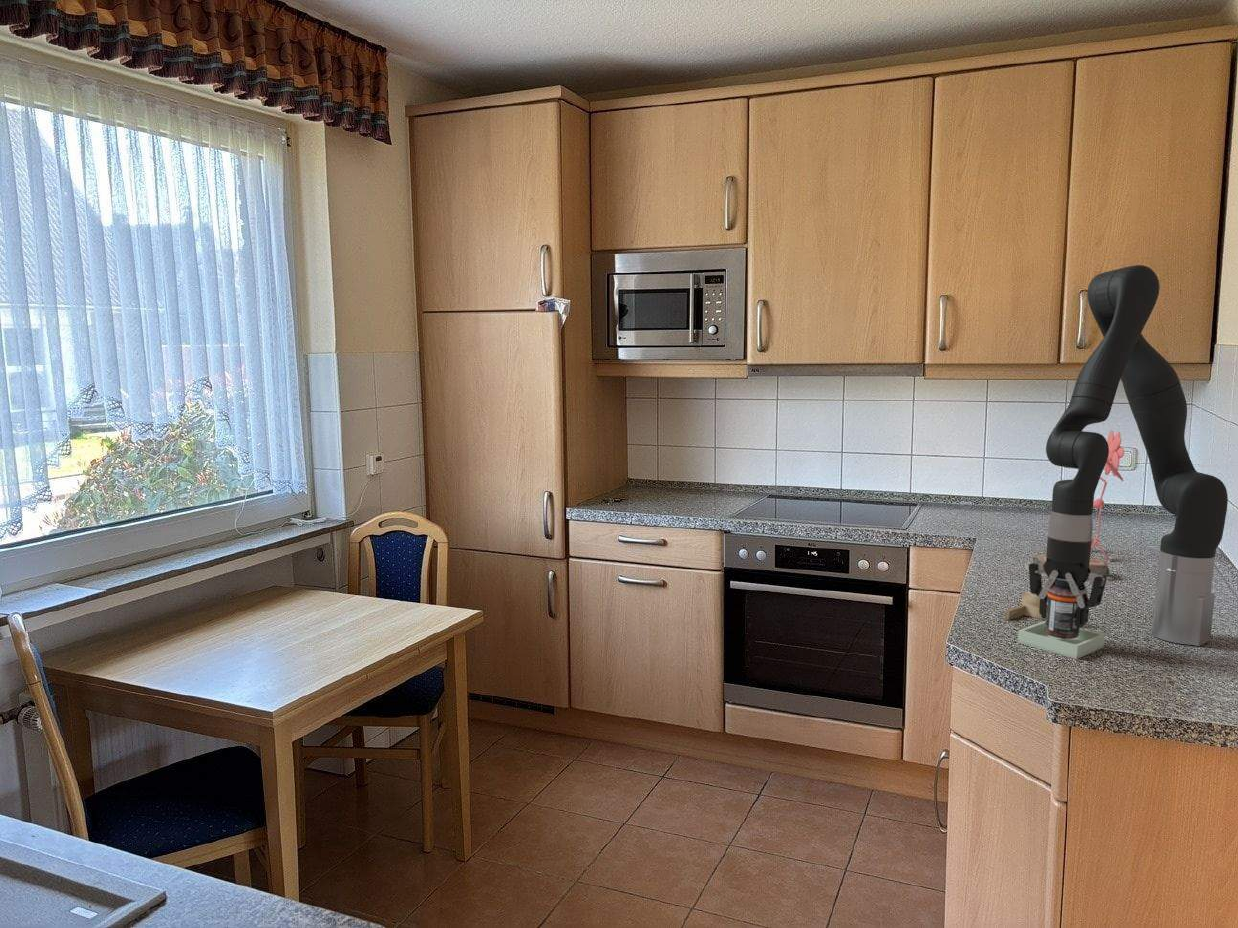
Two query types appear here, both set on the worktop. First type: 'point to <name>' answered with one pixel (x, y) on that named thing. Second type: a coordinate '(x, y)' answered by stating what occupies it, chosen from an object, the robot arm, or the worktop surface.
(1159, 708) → the worktop surface
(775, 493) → the worktop surface
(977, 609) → the worktop surface
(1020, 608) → the wooden footstool
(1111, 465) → the figurine
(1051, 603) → the supplement bottle
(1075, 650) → the sage tray
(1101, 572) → the packaged product
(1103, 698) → the worktop surface
